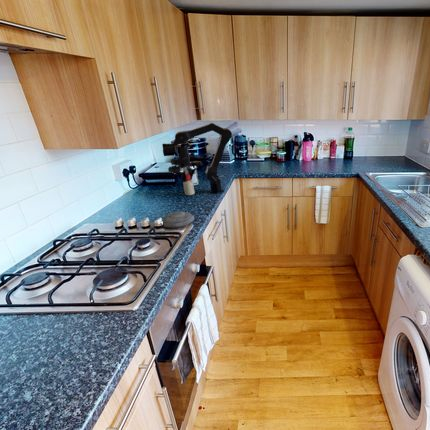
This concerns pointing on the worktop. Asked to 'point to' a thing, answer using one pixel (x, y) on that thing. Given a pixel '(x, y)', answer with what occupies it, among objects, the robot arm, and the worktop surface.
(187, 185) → the bottle
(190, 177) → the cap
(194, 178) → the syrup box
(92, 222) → the worktop surface
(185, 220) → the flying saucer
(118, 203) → the worktop surface
